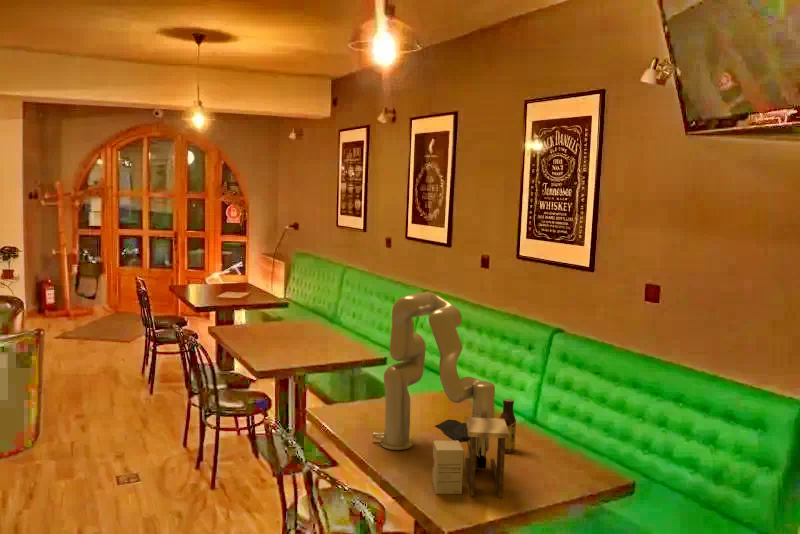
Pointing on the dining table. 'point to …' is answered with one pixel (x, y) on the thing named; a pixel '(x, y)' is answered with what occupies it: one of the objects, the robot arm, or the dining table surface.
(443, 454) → the supplement box
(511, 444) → the sauce bottle
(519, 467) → the dining table surface
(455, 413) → the dining table surface
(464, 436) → the dark slate chunk
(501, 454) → the miniature wooden stool
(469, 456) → the tin
